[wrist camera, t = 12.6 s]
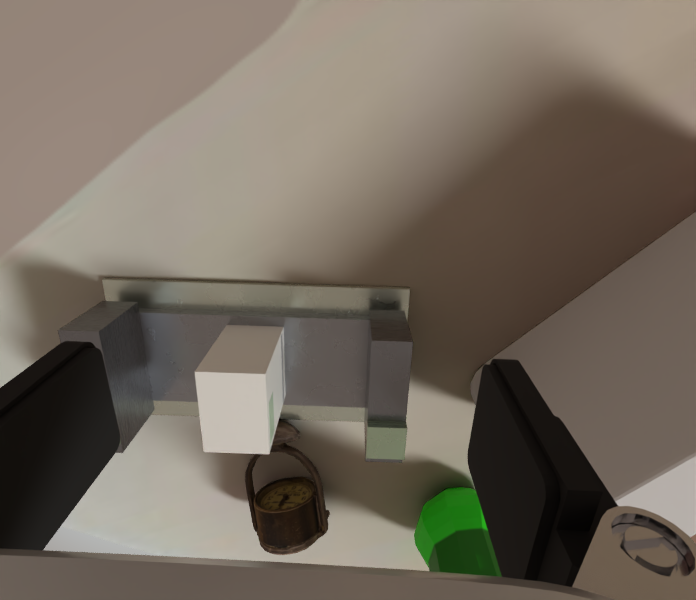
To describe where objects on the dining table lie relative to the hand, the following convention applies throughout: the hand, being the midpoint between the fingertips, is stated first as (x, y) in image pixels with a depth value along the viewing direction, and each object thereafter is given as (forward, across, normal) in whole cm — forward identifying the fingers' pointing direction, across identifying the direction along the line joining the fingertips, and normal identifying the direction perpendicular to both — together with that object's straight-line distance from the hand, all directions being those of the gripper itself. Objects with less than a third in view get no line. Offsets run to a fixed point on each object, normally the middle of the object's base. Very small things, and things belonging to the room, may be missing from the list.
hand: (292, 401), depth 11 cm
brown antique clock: (+26, +5, +28) cm, 39 cm away
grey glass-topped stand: (+26, +7, +14) cm, 31 cm away
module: (+25, +7, +14) cm, 29 cm away
